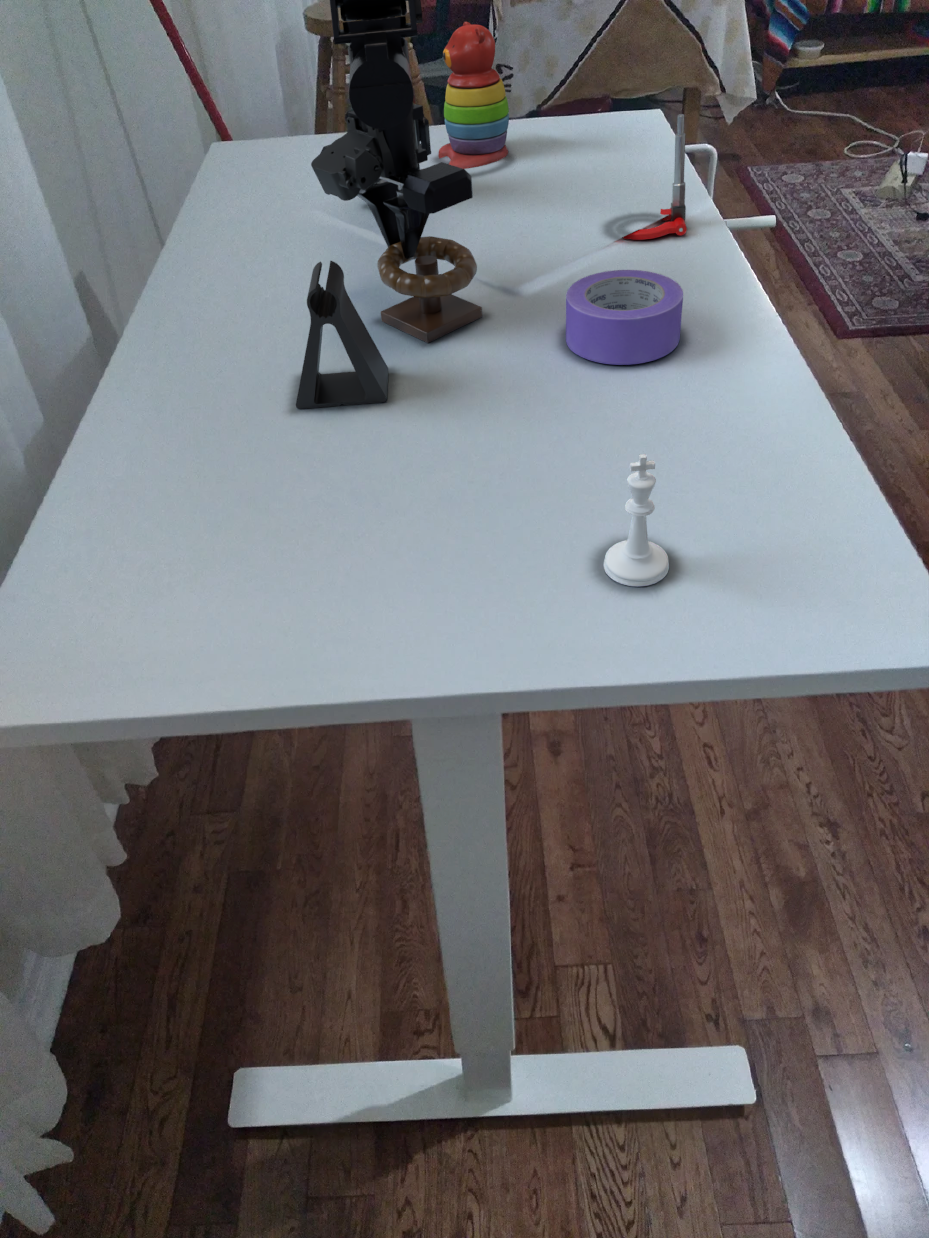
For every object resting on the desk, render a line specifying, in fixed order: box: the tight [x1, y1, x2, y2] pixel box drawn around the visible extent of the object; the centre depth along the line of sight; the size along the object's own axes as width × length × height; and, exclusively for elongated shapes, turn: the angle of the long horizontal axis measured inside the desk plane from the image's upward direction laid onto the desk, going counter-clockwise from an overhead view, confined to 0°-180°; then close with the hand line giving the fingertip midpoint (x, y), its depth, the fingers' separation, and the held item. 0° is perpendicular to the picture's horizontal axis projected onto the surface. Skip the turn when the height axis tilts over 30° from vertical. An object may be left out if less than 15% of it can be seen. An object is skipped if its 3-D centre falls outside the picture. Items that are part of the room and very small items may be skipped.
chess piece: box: [603, 453, 670, 587], centre depth 71 cm, size 5×5×10 cm
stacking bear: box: [437, 21, 510, 170], centre depth 138 cm, size 11×10×18 cm
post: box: [380, 256, 483, 344], centre depth 105 cm, size 8×8×7 cm
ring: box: [376, 235, 478, 298], centre depth 103 cm, size 10×10×2 cm
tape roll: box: [565, 269, 684, 366], centre depth 99 cm, size 12×12×5 cm
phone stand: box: [295, 260, 389, 410], centre depth 93 cm, size 9×6×12 cm, turn 91°
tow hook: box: [621, 113, 688, 241], centre depth 117 cm, size 8×13×9 cm
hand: (402, 254), depth 105 cm, fingers closed on ring, 2 cm apart
